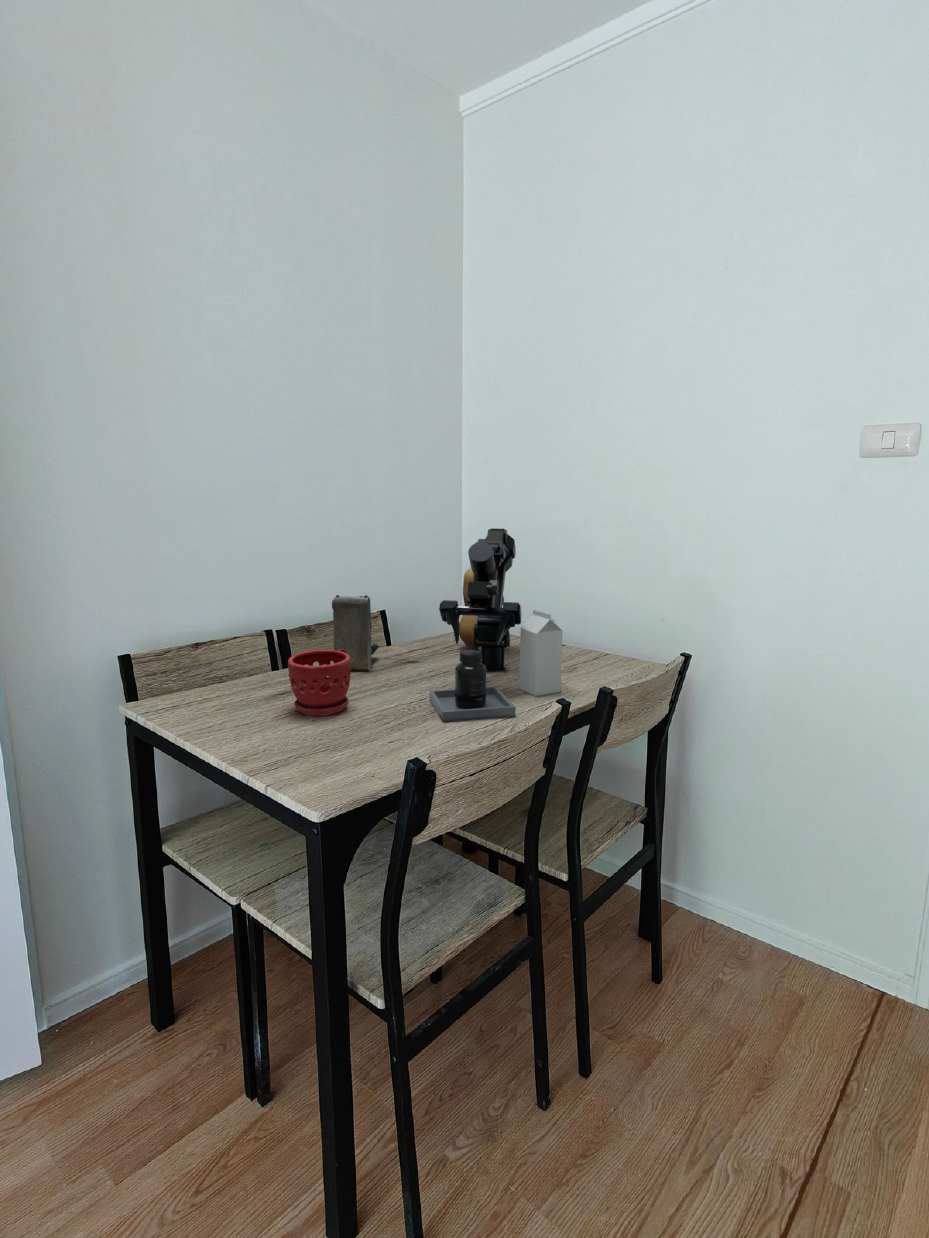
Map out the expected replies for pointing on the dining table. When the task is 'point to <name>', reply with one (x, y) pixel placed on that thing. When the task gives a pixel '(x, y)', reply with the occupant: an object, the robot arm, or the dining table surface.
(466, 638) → the butternut squash
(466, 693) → the supplement bottle
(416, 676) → the dining table surface
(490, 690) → the charcoal tray
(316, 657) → the plant pot
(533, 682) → the milk carton
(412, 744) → the dining table surface
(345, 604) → the vintage camera
